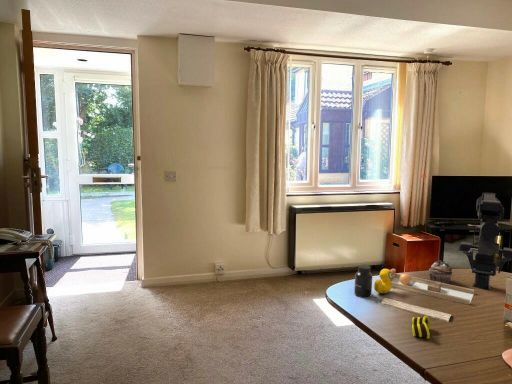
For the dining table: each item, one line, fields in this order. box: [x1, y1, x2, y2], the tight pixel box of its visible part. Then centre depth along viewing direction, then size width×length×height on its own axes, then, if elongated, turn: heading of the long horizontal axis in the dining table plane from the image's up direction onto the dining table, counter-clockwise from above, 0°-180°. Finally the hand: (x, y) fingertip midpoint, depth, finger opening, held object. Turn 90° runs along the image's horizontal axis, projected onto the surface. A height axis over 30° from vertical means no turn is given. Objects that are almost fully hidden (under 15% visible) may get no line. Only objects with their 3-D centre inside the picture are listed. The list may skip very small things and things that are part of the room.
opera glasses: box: [411, 315, 431, 340], centre depth 119 cm, size 10×5×5 cm, turn 154°
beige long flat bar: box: [381, 297, 452, 323], centre depth 137 cm, size 24×7×2 cm, turn 52°
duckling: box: [373, 268, 394, 294], centre depth 153 cm, size 11×5×10 cm, turn 125°
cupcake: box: [428, 259, 453, 285], centre depth 166 cm, size 10×10×10 cm
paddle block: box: [428, 281, 441, 293], centre depth 155 cm, size 8×3×4 cm
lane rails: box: [390, 268, 475, 305], centre depth 157 cm, size 14×34×4 cm, turn 53°
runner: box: [391, 278, 475, 303], centre depth 156 cm, size 12×32×1 cm, turn 53°
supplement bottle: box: [353, 264, 373, 299], centre depth 150 cm, size 7×7×12 cm
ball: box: [399, 273, 412, 285], centre depth 161 cm, size 5×5×5 cm
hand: (485, 270), depth 146 cm, fingers open, 9 cm apart
